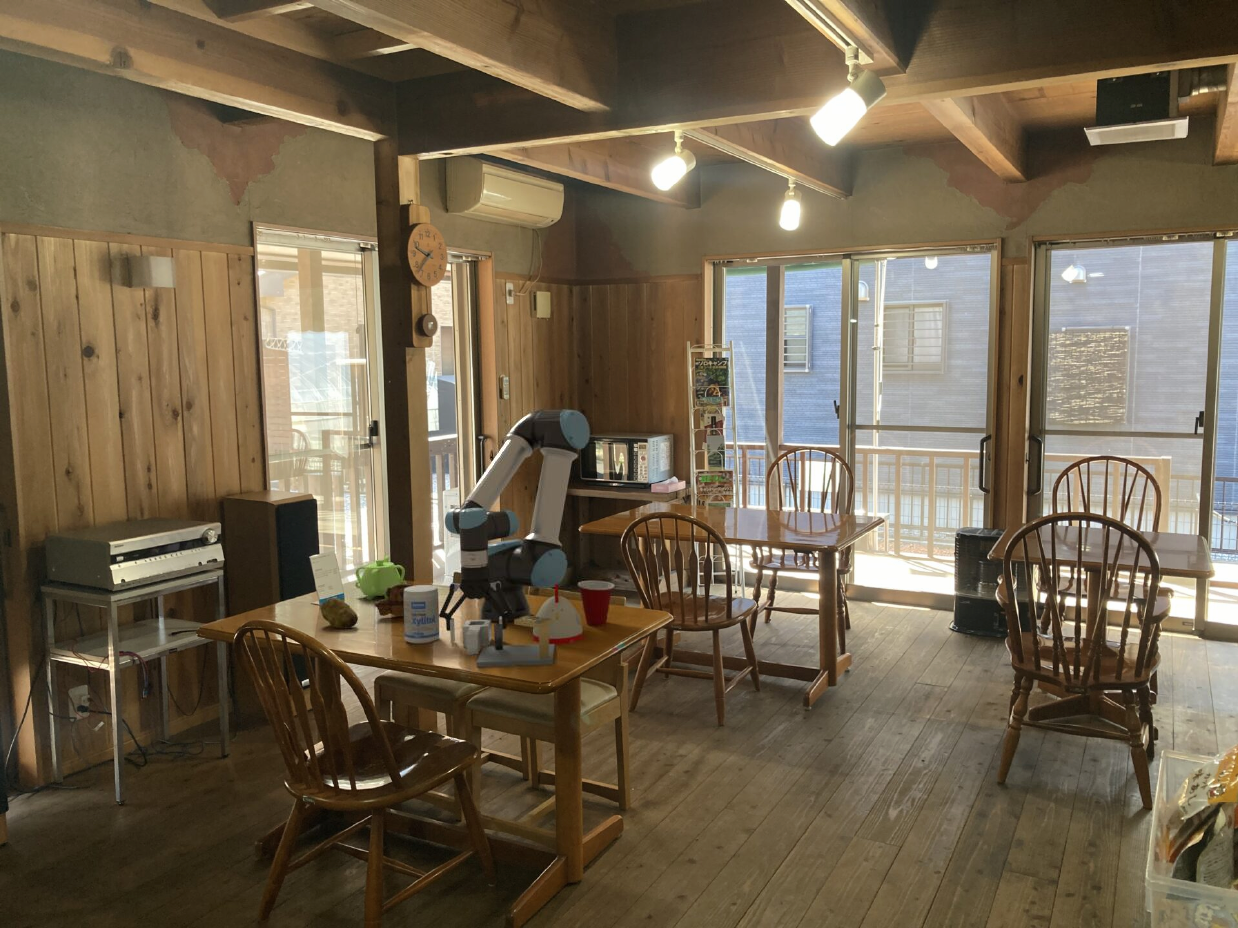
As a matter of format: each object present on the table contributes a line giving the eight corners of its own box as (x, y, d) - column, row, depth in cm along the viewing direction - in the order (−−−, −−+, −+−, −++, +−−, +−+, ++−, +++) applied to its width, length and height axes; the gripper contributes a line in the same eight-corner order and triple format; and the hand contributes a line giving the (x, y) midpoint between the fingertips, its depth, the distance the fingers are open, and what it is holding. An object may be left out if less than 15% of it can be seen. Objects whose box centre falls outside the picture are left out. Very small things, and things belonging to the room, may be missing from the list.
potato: (333, 633, 278) (331, 605, 277) (318, 624, 288) (317, 598, 288) (360, 628, 283) (359, 601, 282) (345, 619, 293) (344, 594, 293)
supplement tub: (413, 646, 262) (411, 593, 260) (399, 639, 269) (396, 588, 268) (446, 639, 268) (443, 588, 266) (430, 633, 275) (428, 582, 274)
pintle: (495, 647, 254) (494, 624, 253) (503, 647, 254) (502, 623, 253) (494, 650, 252) (493, 626, 251) (502, 649, 252) (501, 625, 251)
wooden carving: (377, 621, 290) (376, 588, 290) (374, 618, 295) (373, 586, 294) (431, 614, 298) (429, 582, 297) (427, 611, 302) (426, 580, 301)
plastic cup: (616, 627, 276) (615, 586, 275) (579, 628, 276) (577, 587, 275) (614, 617, 287) (613, 578, 286) (578, 619, 287) (577, 579, 286)
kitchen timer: (532, 645, 260) (530, 591, 259) (533, 632, 274) (531, 580, 272) (583, 643, 261) (582, 589, 260) (582, 630, 275) (580, 578, 273)
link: (466, 639, 267) (465, 620, 267) (491, 638, 267) (491, 619, 267) (459, 655, 252) (458, 634, 252) (485, 654, 252) (484, 633, 252)
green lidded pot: (350, 595, 327) (348, 559, 326) (389, 589, 336) (387, 553, 335) (370, 603, 314) (368, 565, 313) (410, 596, 323) (408, 559, 322)
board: (483, 650, 256) (483, 646, 256) (554, 648, 256) (554, 643, 256) (476, 666, 241) (476, 662, 241) (552, 664, 242) (552, 659, 242)
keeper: (528, 650, 251) (527, 615, 250) (555, 655, 246) (554, 619, 245) (515, 655, 246) (514, 619, 246) (543, 660, 241) (542, 623, 241)
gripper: (426, 568, 258) (429, 646, 260) (519, 566, 258) (521, 643, 260) (431, 563, 265) (434, 638, 267) (521, 561, 266) (523, 636, 268)
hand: (477, 641), depth 264 cm, fingers open, 13 cm apart
